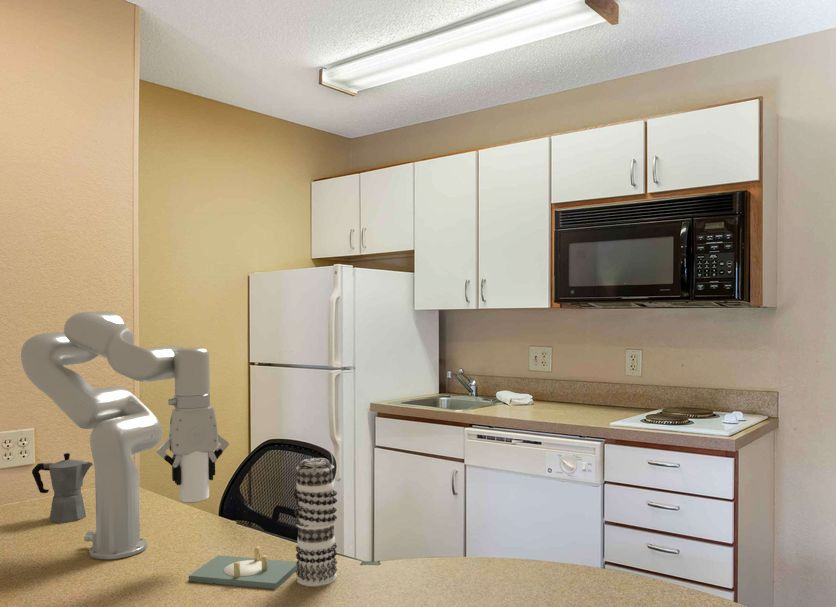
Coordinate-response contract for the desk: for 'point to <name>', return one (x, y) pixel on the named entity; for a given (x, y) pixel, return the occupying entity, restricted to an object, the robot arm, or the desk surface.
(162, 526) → the desk surface
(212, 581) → the green board with pegs
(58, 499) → the coffeepot
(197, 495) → the can
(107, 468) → the robot arm
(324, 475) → the decorative candle
